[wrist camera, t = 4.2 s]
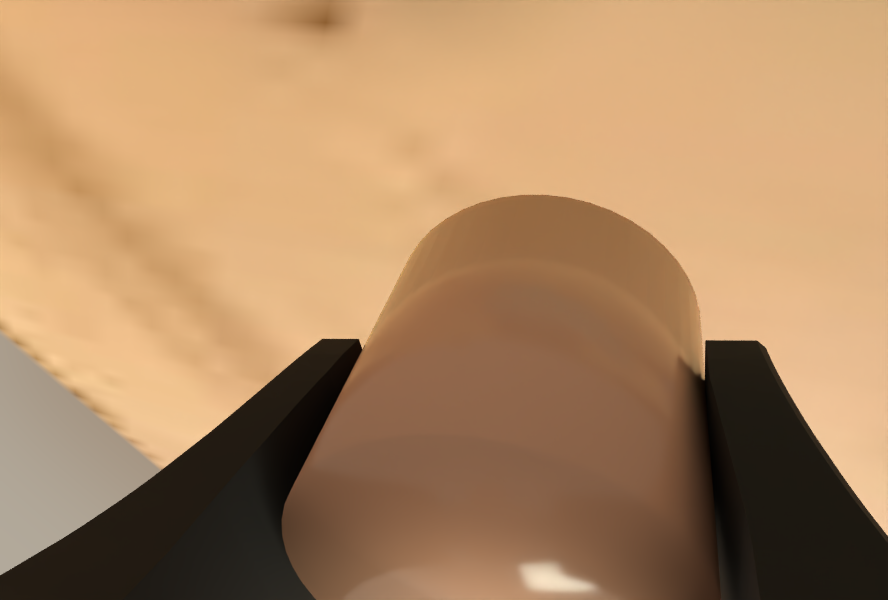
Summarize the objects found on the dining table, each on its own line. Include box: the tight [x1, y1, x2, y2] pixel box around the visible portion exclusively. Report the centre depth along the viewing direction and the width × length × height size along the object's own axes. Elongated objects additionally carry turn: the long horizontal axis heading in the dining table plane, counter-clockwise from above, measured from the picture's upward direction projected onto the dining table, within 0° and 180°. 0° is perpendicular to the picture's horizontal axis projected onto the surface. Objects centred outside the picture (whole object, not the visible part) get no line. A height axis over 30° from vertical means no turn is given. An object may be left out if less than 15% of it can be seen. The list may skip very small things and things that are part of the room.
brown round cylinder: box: [282, 195, 721, 600], centre depth 9 cm, size 5×5×5 cm
